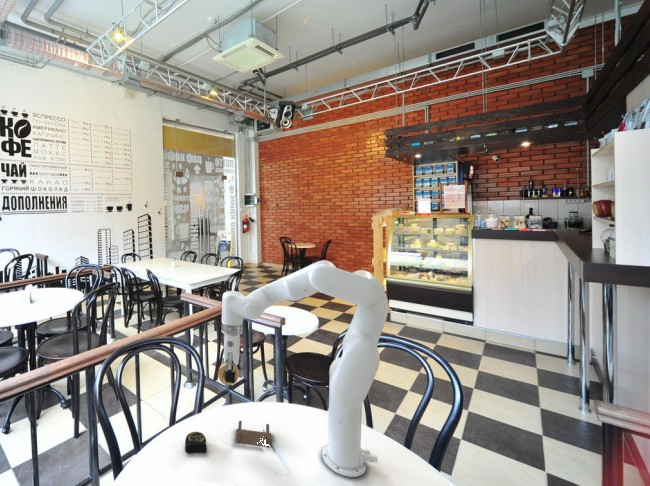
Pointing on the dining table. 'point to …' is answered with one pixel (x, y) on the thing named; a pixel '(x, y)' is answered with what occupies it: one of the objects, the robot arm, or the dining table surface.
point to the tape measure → (195, 443)
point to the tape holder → (252, 436)
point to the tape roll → (223, 374)
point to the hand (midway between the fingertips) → (230, 379)
